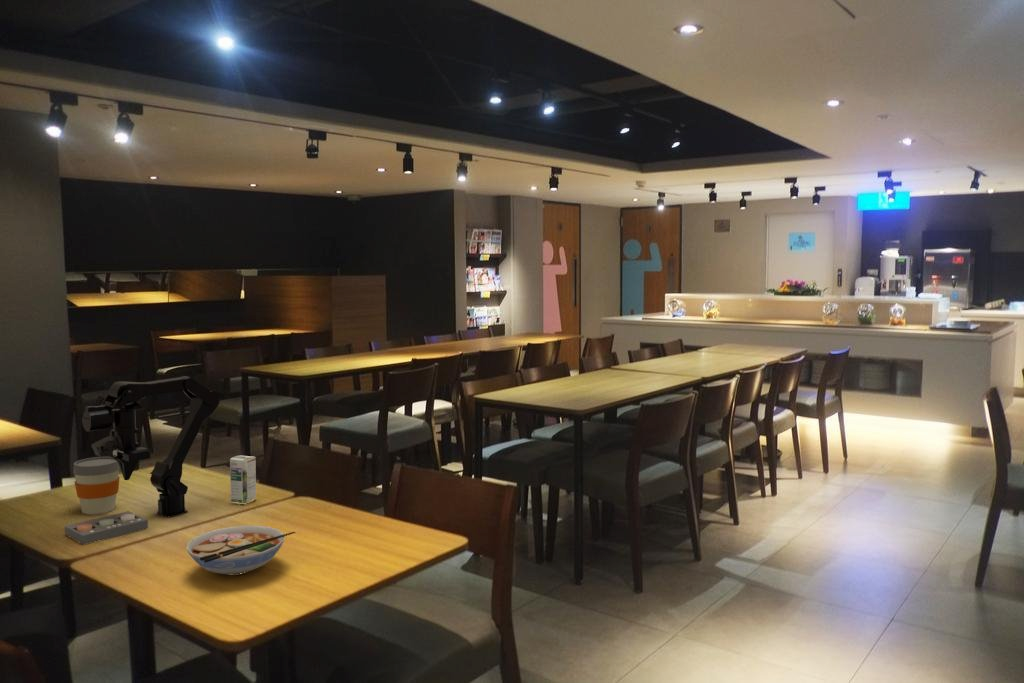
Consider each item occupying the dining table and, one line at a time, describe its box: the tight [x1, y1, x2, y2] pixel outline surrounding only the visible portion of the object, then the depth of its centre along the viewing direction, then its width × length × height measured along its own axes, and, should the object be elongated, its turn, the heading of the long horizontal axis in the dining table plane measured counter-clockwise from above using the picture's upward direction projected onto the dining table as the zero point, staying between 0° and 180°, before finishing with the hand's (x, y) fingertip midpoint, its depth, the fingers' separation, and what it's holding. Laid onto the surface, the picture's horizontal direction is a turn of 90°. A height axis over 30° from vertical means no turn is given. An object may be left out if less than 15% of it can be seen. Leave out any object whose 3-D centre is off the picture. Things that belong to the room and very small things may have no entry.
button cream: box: [121, 513, 136, 521], centre depth 220 cm, size 4×4×3 cm
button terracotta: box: [77, 524, 92, 532], centre depth 211 cm, size 4×4×3 cm
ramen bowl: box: [185, 524, 296, 575], centre depth 189 cm, size 25×23×8 cm
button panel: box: [64, 510, 149, 545], centre depth 215 cm, size 17×12×3 cm
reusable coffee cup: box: [72, 456, 121, 515], centre depth 234 cm, size 13×13×15 cm
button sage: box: [99, 519, 114, 527], centre depth 215 cm, size 4×4×3 cm
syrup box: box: [229, 454, 257, 503], centre depth 243 cm, size 6×6×14 cm
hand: (126, 479), depth 221 cm, fingers closed
